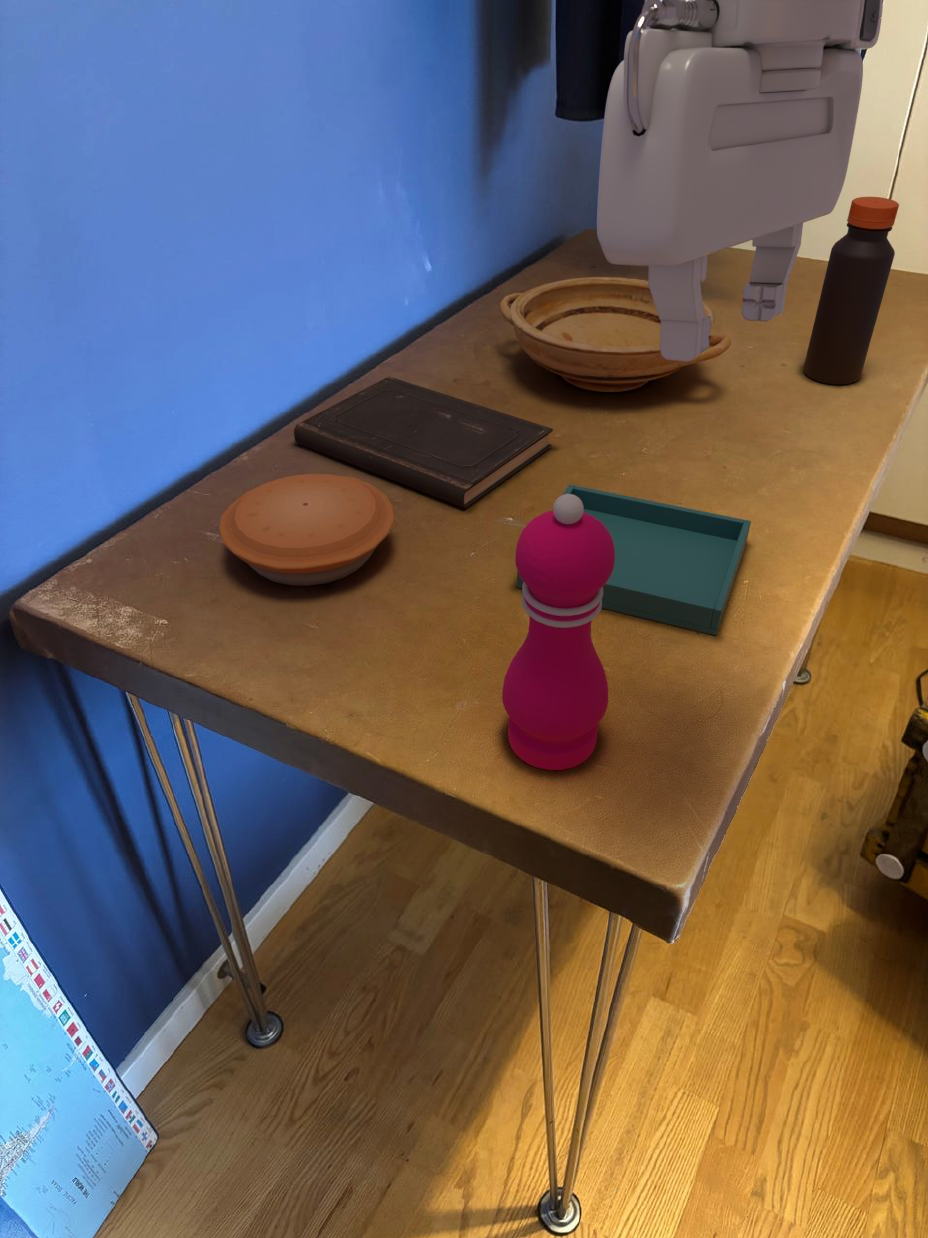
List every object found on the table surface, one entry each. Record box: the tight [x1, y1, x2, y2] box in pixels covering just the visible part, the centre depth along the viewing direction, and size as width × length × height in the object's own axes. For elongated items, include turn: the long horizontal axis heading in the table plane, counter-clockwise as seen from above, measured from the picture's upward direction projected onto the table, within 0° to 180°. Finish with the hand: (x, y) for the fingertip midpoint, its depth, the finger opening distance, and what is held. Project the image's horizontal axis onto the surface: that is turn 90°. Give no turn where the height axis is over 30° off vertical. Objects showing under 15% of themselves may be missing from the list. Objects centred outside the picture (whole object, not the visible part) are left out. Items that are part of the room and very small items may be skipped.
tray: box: [516, 484, 752, 636], centre depth 81 cm, size 17×14×3 cm
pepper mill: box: [501, 494, 615, 771], centre depth 59 cm, size 7×7×20 cm
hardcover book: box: [293, 376, 554, 509], centre depth 98 cm, size 16×23×2 cm
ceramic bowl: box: [499, 276, 732, 393], centre depth 111 cm, size 30×24×8 cm
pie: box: [218, 473, 396, 587], centre depth 82 cm, size 15×16×5 cm
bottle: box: [803, 196, 900, 386], centre depth 106 cm, size 7×7×20 cm
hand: (725, 336), depth 45 cm, fingers open, 8 cm apart
